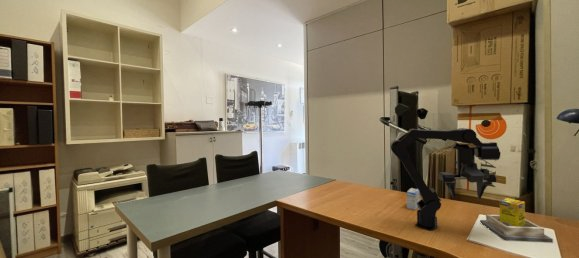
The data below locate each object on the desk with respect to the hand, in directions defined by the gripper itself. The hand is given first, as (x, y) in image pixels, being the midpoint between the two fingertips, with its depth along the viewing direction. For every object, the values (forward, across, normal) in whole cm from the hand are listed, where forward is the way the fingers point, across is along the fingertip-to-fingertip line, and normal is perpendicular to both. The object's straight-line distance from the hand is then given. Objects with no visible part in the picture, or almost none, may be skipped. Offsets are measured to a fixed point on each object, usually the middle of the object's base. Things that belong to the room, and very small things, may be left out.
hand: (466, 198), depth 97 cm
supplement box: (+12, +16, 0) cm, 20 cm away
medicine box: (+13, -13, +25) cm, 31 cm away
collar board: (+13, +16, 0) cm, 21 cm away
